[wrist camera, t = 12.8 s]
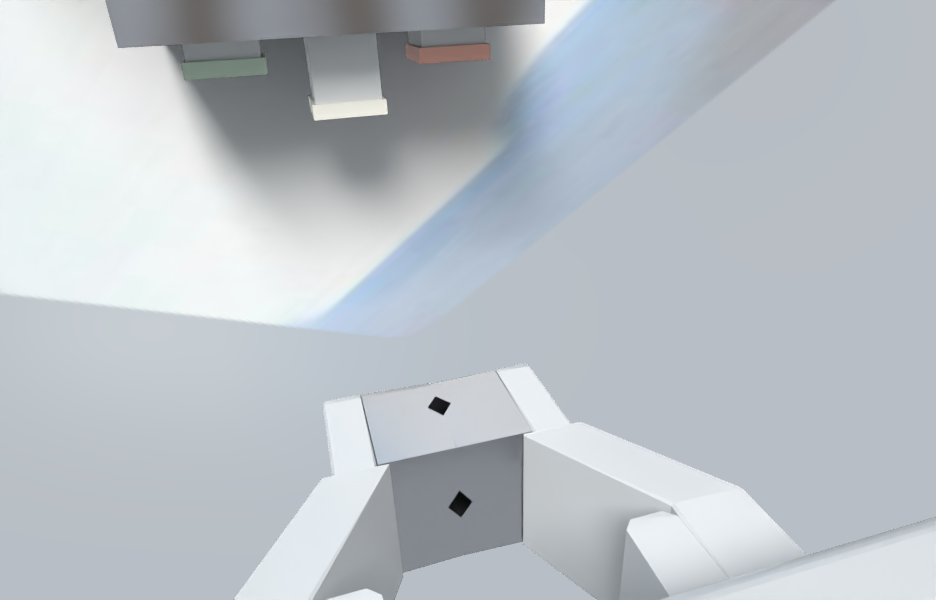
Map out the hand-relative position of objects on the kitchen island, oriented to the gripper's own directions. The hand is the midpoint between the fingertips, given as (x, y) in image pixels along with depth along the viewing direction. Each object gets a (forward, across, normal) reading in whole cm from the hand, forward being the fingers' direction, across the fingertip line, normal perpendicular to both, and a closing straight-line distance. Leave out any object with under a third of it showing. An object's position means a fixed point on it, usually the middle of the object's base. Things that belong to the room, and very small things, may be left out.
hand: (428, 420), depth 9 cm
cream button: (+32, +2, +2) cm, 32 cm away
